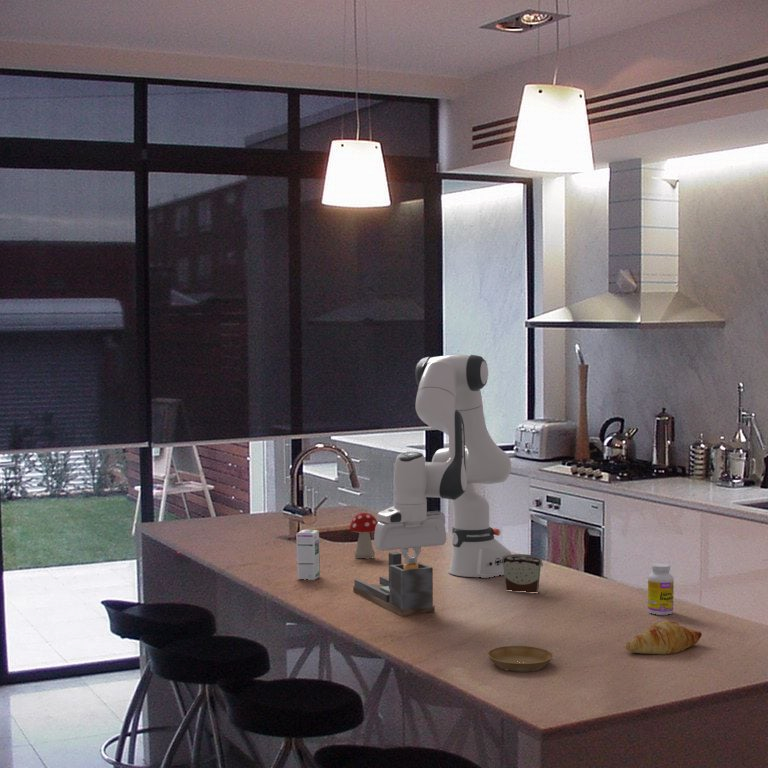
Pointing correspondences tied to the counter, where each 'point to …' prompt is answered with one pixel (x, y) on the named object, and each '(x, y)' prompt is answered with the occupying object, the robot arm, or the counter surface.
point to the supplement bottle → (660, 590)
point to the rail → (402, 590)
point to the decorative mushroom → (364, 534)
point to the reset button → (410, 566)
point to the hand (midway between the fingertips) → (410, 564)
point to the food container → (522, 572)
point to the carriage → (393, 560)
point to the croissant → (663, 639)
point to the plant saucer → (520, 657)
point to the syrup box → (308, 554)
